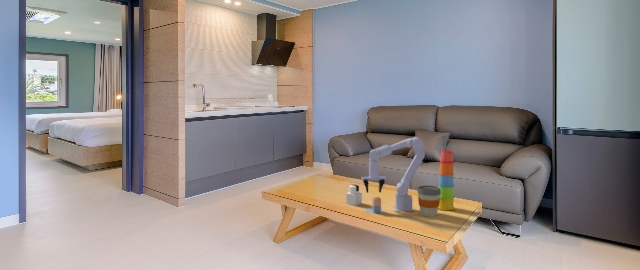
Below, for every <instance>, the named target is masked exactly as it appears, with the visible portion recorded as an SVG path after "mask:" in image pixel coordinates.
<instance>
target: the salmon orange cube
mask: <svg viewBox="0 0 640 270" xmlns="http://www.w3.org/2000/svg"><path fill="white" fill-rule="evenodd" d="M371 203H372V205H374V206H381V207H382V198H381V197H379V196H376V197H374V196H373V197H372V202H371Z"/></svg>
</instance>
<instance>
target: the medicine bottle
mask: <svg viewBox="0 0 640 270" xmlns="http://www.w3.org/2000/svg"><path fill="white" fill-rule="evenodd" d="M362 200H363V193H362V192H360V186H359V184H350V185H349V188H348V191H347V192H346V195H345V203H346V204H347V205H351V206H355V207H356V206H359V205H361V204H363V203H362Z"/></svg>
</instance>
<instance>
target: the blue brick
mask: <svg viewBox="0 0 640 270" xmlns="http://www.w3.org/2000/svg"><path fill="white" fill-rule="evenodd" d="M371 208H372V211H373V212H374V213H373V214H382V213H381V209H382V205H381V206H374V205H373V204H372V207H371Z"/></svg>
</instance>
